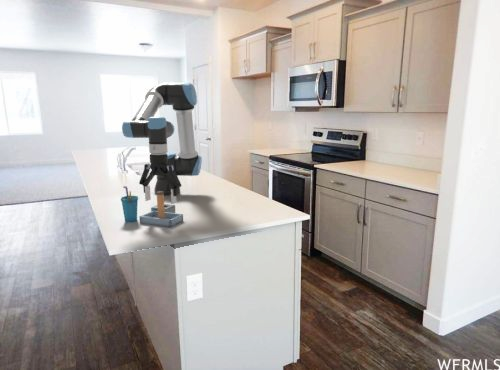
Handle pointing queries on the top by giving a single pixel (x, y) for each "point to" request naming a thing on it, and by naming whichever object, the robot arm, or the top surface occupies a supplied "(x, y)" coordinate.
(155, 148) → the robot arm
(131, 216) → the cup
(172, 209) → the hitch block
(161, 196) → the pin
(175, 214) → the tray
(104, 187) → the top surface
